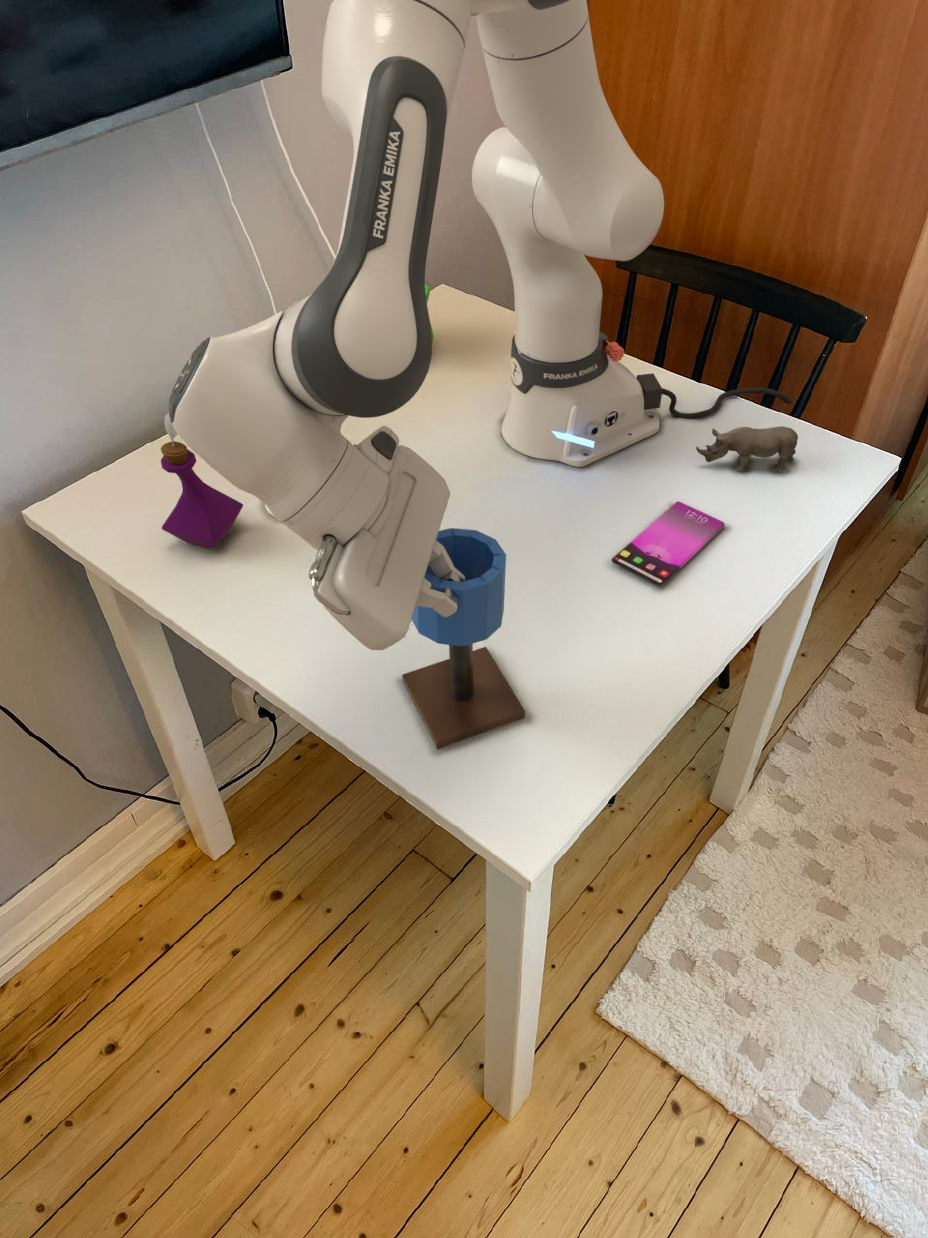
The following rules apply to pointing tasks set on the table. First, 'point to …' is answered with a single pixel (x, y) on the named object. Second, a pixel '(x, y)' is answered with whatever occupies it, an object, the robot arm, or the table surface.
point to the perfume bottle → (195, 499)
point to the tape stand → (462, 696)
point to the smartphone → (668, 543)
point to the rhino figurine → (754, 445)
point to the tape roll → (467, 590)
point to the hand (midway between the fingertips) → (456, 598)
